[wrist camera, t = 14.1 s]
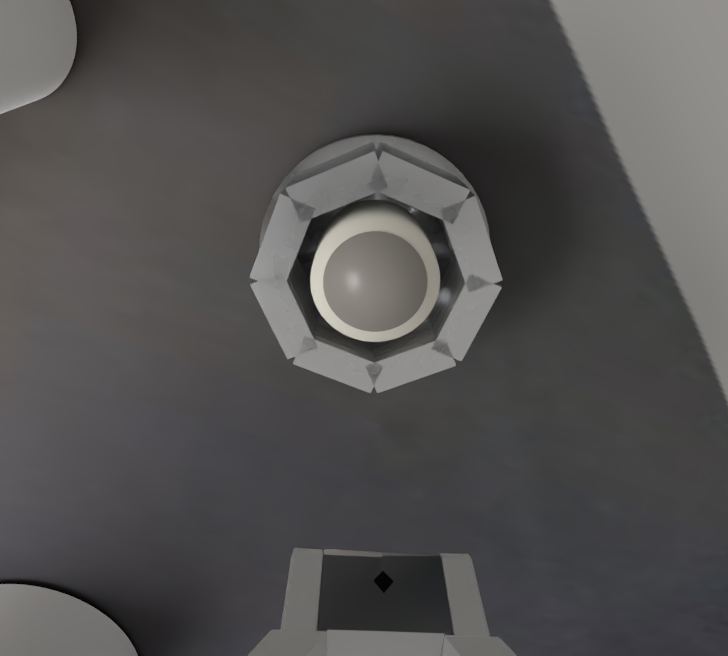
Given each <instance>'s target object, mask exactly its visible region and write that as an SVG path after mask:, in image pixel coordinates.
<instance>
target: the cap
mask: <svg viewBox="0 0 728 656" xmlns="http://www.w3.org/2000/svg"><path fill="white" fill-rule="evenodd" d="M310 287H311V293H312V296H313V300H314V302H315V305H316V307H317V309H318V311H319V312H320V314H321V315H322V317H323V318H324V319H325V320H326V321H327V322H328V323H329V324H330V325H331V326H332V327H333V328H335V329H336V330H337V331H339V332H341V333H342V334H344V335H346V336H348V337H351V338H354V339H357V340H361V341H368V342H381V341H388V340H392V339H396V338H398V337H401V336H403V335H405V334H407V333H409V332H411V331H412V330H414V329H415V328H416V327H418V326H419V325H420V324H421V323H422V322H423V321H424V320H425V319H426V318H427V316H428V315H429V313H430V312H431V311H432V309H433V307H434V305H435V303H436V300H437V297H438V293H439V289H440V270H439V266H438V262H437V259H436V256H435V254H434V251H433V249H432V246H431V244H430V242H429V239H428V237H427V234H426V232H425V230H424V228H423V226H422V225H421V223H420V222H419V221H418V219H417V218H416V217H415V216H414V215H413V214H411V213H410V212H409V211H408V210H406V209H405V208H403V207H401V206H399V205H397V204H395V203H392V202H388V201H383V200H365V201H360V202H356V203H354V204H351V205H349V206H347V207H345V208H343V209H342V210H340V211H339V212H338V213H337V214H335V215H334V216H333V217H332V218H331V219H330V221H329V222H328V223H327V225H326V226H325V228H324V230H323V232H322V234H321V237H320V240H319V243H318V246H317V250H316V253H315V257H314V260H313V264H312V268H311V275H310Z"/></svg>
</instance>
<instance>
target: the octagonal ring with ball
mask: <svg viewBox="0 0 728 656" xmlns="http://www.w3.org/2000/svg"><path fill="white" fill-rule="evenodd" d="M365 200H383V201H388V202H392V203H395V204H397V205H399V206H401V207H403V208H405V209H406V210H408V211H409V212H410V213H411V214H413V215H414V216H415V217H416V218H417V219H418V221H419V222H420V223H421V225H422V226H423V228H424V230H425V232H426V234H427V237H428V239H429V242H430V244H431V246H432V249H433V251H434V254H435V256H436V259H437V262H438V266H439V270H440V289H439V293H438V297H437V300H436V303H435V305H434V307H433V309H432V311H431V312H430V313H429V315H428V316H427V318H426V319H425V320H424V321H423V322H422V323H421V324H420V325H419V326H418V327H416V328H415V329H414V330H412V331H411V332H409V333H407V334H405V335H403V336H401V337H398V338H396V339H392V340H388V341H381V342H368V341H361V340H357V339H354V338H351V337H348V336H346V335H344V334H342V333H341V332H339V331H337V330H336V329H335V328H333V327H332V326H331V325H330V324H329V323H328V322H327V321H326V320H325V319H324V318H323V317H322V315H321V314H320V312H319V311H318V309H317V307H316V305H315V302H314V300H313V296H312V293H311V287H310V275H311V268H312V264H313V260H314V257H315V253H316V250H317V246H318V243H319V240H320V237H321V234H322V232H323V230H324V228H325V226H326V225H327V223H328V222H329V221H330V219H331V218H332V217H333V216H334V215H335V214H337V213H338V212H339V211H340V210H342V209H343V208H345V207H347V206H349V205H351V204H354V203H356V202H360V201H365ZM250 278H252V279H253V280H252V282H251V283H250V286H251V288H252V290H253V292H254V294H255V296H256V298H257V300H258V302H259V304H260V306H261V308H262V310H263V312H264V314H265V316H266V318H267V320H268V322H269V324H270V326H271V328H272V330H273V332H274V334H275V336H276V338H277V339H278V341H279V343H280V345H281V347H282V349H283V351H284V353H285V355H286V357H287V359H290V358H293V357H294V361H293V364H294V365H297V366H299V367H302V368H305V369H307V370H310V371H313V372H315V373H318V374H321V375H323V376H326V377H329V378H331V379H334V380H337V381H339V382H342V383H344V384H347V385H350V386H352V387H355V388H358V389H360V390H363V391H366V392H368V393H371V391H372V389H373V387H375V389H376V392H377V393H380V392H383V391H385V390H388V389H391V388H394V387H397V386H400V385H403V384H405V383H408V382H411V381H414V380H417V379H420V378H423V377H425V376H428V375H431V374H434V373H437V372H440V371H443V370H445V369H448V368H451V367H454V366H456V364H455V361H454V359H457V360H459V361H462V360H463V358H464V356H465V354H466V352H467V350H468V349H469V347H470V345H471V343H472V341H473V339H474V338H475V336H476V334H477V332H478V330H479V328H480V327H481V325H482V323H483V321H484V319H485V317H486V316H487V314H488V312H489V310H490V308H491V307H492V305H493V303H494V301H495V299H496V297H497V296H498V294H499V292H500V290H501V288H502V287H501V285H500V283H499V281H502V280H503V279H502V276H501V273H500V270H499V267H498V264H497V261H496V258H495V255H494V252H493V249H492V245H491V242H490V235H489V227H488V223H487V219H486V215H485V212H484V209H483V207H482V204H481V202H480V199H479V198H478V196H477V194H476V192H475V191H474V189H473V187H472V186H471V184H470V183H469V182H468V180H467V179H466V178H465V177H464V175H463V174H462V173H461V172H460V171H459V170H458V169H457V168H456V167H455V166H454V165H453V164H452V163H451V162H450V161H449V160H447V159H446V158H445V157H443V156H442V155H441V154H439V153H438V152H437V151H435V150H433V149H431V148H429V147H427V146H426V145H424V144H422V143H419V142H416V141H414V140H411V139H408V138H404V137H400V136H395V135H388V134H361V135H356V136H351V137H346V138H343V139H340V140H337V141H334V142H331V143H329V144H327V145H325V146H323V147H321V148H319V149H317V150H316V151H314V152H313V153H311V154H310V155H308V156H307V157H305V158H304V159H303V160H302V161H301V162H300V163H299V164H297V165H296V166H295V167H294V168H293V169H292V170H291V171H290V173H289V174H288V175H287V176H286V178H285V179H284V180H283V181H282V182H281V184H280V185H279V187H278V188H277V190H276V192H275V193H274V195H273V196H272V198H271V201H270V203H269V205H268V207H267V210H266V213H265V216H264V220H263V223H262V227H261V234H260V250H259V252H258V255H257V258H256V261H255V263H254V266H253V269H252V272H251V274H250Z"/></svg>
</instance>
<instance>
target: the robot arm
mask: <svg viewBox="0 0 728 656" xmlns="http://www.w3.org/2000/svg"><path fill="white" fill-rule="evenodd" d="M0 656H138V655H137V653H136V650H135V648H134V646H133V645H132V643H131V641H130V640H129V638H128V637H127V636H126V635H125V633H124V632H123V631H122V630H121V629H120V628H119V627H118V626H117V625H116V624H115V623H114V622H113V621H112V620H111V619H110V618H108V617H107V616H106V615H104V614H103V613H102V612H100V611H99V610H97V609H96V608H94V607H92V606H91V605H89V604H87V603H85V602H83V601H81V600H79V599H77V598H74V597H72V596H70V595H67V594H64V593H61V592H58V591H55V590H51V589H47V588H43V587H38V586H31V585H23V584H0ZM247 656H517V655H516V654H515V653H514V652H513V651H512V650H511V649H510V648H509V647H508V646H507V645H506V643H505V642H504V641H503V640H502V639H501V638H500V637H490V634H489V630H488V626H487V621H486V617H485V613H484V609H483V605H482V600H481V596H480V592H479V588H478V584H477V579H476V575H475V571H474V567H473V563H472V558H471V557H470V556H469V555H468V554H446V553H439V555H438V554H436V553H398V552H367V551H351V550H334V549H324V550H321V549H306V548H294V550H293V553H292V556H291V562H290V569H289V576H288V583H287V589H286V596H285V603H284V609H283V616H282V623H281V630H270V632H269V633H268V634H267V635H266V636H265V637H264V638H263V639H262V640H261V641H260V642H259V643H258V645H257V646H256V647H255V648H254V649H253V650H252V651H251V652H250V653H249V654H248V655H247Z"/></svg>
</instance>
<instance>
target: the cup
mask: <svg viewBox="0 0 728 656" xmlns="http://www.w3.org/2000/svg"><path fill="white" fill-rule="evenodd" d="M76 45H77V30H76V22H75V16H74V13H73V9H72V6H71V3H70V0H0V114H2V113H5V112H7V111H10V110H13V109H15V108H18V107H21V106H23V105H26V104H29V103H31V102H34V101H37V100H39V99H42V98H44V97H46V96H48V95H49V94H51V93H52V92H53V91H55V90H56V89H57V88H58V87H59V86H60V85H61V84H62V82H63V81H64V80H65V78H66V77H67V75H68V73H69V71H70V69H71V67H72V64H73V61H74V58H75V53H76Z"/></svg>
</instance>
